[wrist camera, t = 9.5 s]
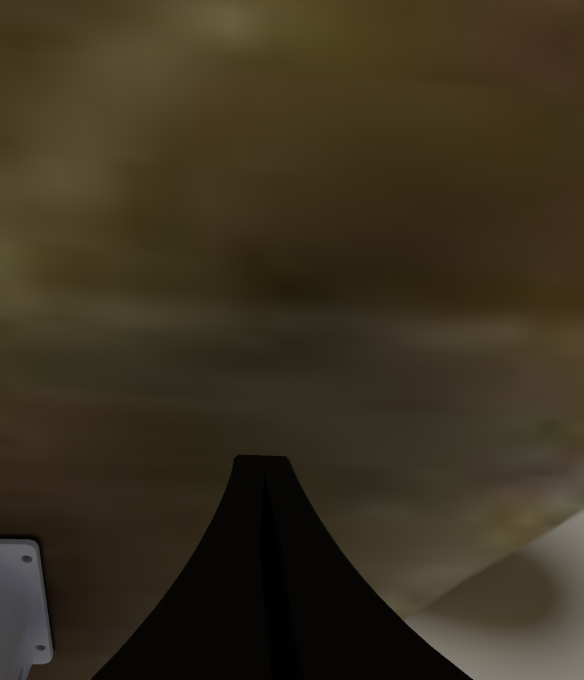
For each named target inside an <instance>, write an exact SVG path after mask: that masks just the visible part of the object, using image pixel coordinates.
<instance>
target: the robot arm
mask: <svg viewBox="0 0 584 680" xmlns="http://www.w3.org/2000/svg"><path fill="white" fill-rule="evenodd" d="M29 556H30V557H29ZM52 656H53V646H52V639H51V632H50V624H49V617H48V610H47V603H46V595H45V588H44V581H43V573H42V566H41V559H40V552H39V546H38V544H37V543H36V542H35V541H33V540H29V539H0V680H26V679H27V676H28V674H29V671H30V668H31V666H32V664H46V663H48V662H50V661H51V659H52ZM91 680H473V679H472V678H470V677H469V676H468V675H466V674H465V673H464V672H463V671H461V670H460V669H459V668H458V667H456V666H455V665H454V664H453V663H451V662H450V661H449V660H448V659H446V658H445V657H444V656H442V655H441V654H440V653H439V652H438V651H436V650H435V649H434V648H433V647H431V646H430V645H429V644H428V643H426V641H425V640H423V639H422V638H421V637H420V636H419V635H418V634H417V633H416V632H415V631H413V630H412V629H411V628H410V627H409V626H408V625H407V624H406V623H405V622H404V621H403V620H402V619H401V618H400V617H399V616H398V615H397V614H396V613H395V612H394V611H393V610H392V609H391V608H390V607H389V606H388V605H387V604H386V603H385V602H384V601H383V600H382V599H381V598H380V597H379V596H378V595H377V594H376V592H375V591H374V590H373V589H372V588H371V587H370V586H369V584H368V583H367V582H366V581H365V580H364V579H363V578H362V576H361V575H360V574H359V573H358V571H357V570H356V569H355V568H354V566H353V565H352V564H351V563H350V562H349V560H348V559H347V558H346V556H345V555H344V554H343V552H342V551H341V550H340V548H339V547H338V545H337V544H336V543H335V541H334V540H333V538H332V537H331V535H330V534H329V532H328V531H327V529H326V528H325V526H324V525H323V523H322V522H321V520H320V518H319V517H318V515H317V513H316V512H315V510H314V508H313V507H312V505H311V503H310V502H309V500H308V498H307V496H306V494H305V492H304V491H303V489H302V487H301V485H300V483H299V481H298V479H297V477H296V475H295V472H294V470H293V468H292V466H291V463H290V460H289V459H288V458H287V457H285V456H259V455H238V456H236V457H235V458H234V462H233V468H232V472H231V476H230V479H229V482H228V485H227V487H226V490H225V493H224V495H223V497H222V499H221V502H220V504H219V506H218V509H217V511H216V513H215V515H214V517H213V519H212V521H211V523H210V525H209V526H208V528H207V530H206V532H205V534H204V536H203V538H202V540H201V541H200V543H199V545H198V546H197V548H196V550H195V551H194V553H193V555H192V556H191V558H190V559H189V561H188V563H187V564H186V566H185V567H184V569H183V570H182V572H181V573H180V575H179V576H178V577H177V579H176V580H175V582H174V583H173V584H172V586H171V587H170V589H169V590H168V591H167V593H166V594H165V596H164V597H163V598H162V600H161V601H160V602H159V603H158V605H157V606H156V607H155V609H154V610H153V611H152V612H151V613H150V615H149V616H148V617H147V618H146V619H145V621H144V622H143V623H142V624H141V625H140V626H139V628H138V629H137V630H136V631H135V632H134V634H133V635H132V636H131V637H130V638H129V640H128V641H127V642H126V643H125V644H124V645H123V646H122V647H121V648H120V650H119V651H118V652H117V653H116V654H115V655H114V656H113V657H112V658H111V659H110V660H109V661H108V662H107V663H106V664H105V665H104V666H103V667H102V668H101V669H100V670H99V671H98V672H97V673H96V674H95V675H94V676H93V677H92V679H91Z"/></svg>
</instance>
